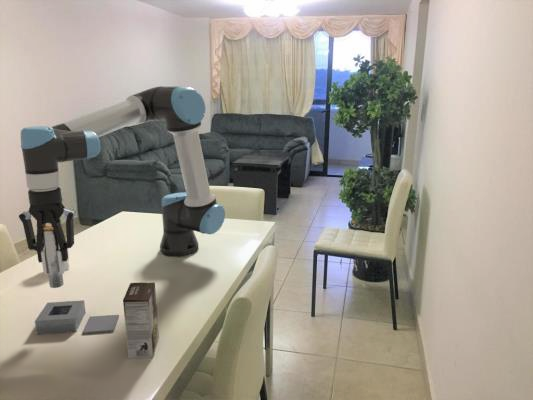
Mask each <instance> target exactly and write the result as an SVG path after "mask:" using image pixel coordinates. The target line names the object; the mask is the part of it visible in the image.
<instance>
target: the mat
mask: <svg viewBox="0 0 533 400" xmlns="http://www.w3.org/2000/svg"><path fill="white" fill-rule="evenodd" d="M119 317H120V315H119V314H110V315H108V314H106V315H93V316H91V315H90V316H89V317H88V319H87V321H86V324H85V325H84V328H83V329H82V335H88V334H102V333H113V332H115V329H116V325H117V323H118V321H119Z"/></svg>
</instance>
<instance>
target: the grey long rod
mask: <svg viewBox="0 0 533 400" xmlns="http://www.w3.org/2000/svg"><path fill="white" fill-rule="evenodd" d="M43 239H44V247H45V254H46V262H47V269H48V274H47V275H48V276H47V277H48V283H49V287H50V288H52V289H57V288H61V287H63V286H64V277H63V276H64V274H60V269H59V261H58V253H57V251H58V250H59V244H58V241H57V238H56V235H55V232H54V229H53V227H52V225H45V226H44V227H43Z"/></svg>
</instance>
